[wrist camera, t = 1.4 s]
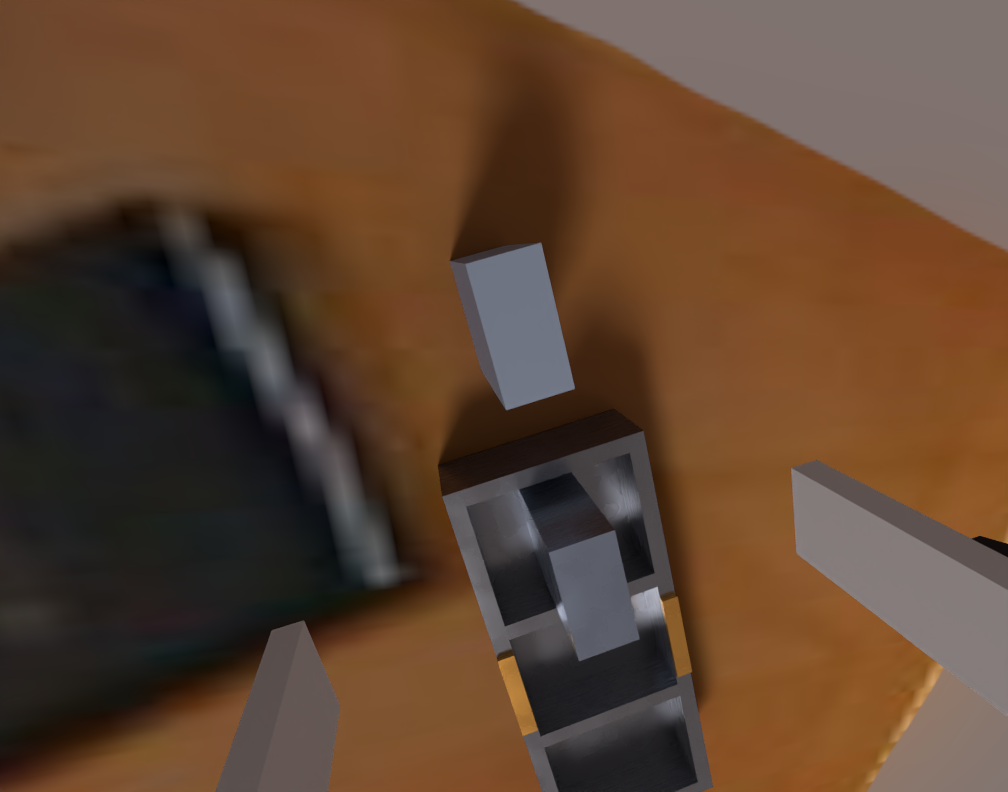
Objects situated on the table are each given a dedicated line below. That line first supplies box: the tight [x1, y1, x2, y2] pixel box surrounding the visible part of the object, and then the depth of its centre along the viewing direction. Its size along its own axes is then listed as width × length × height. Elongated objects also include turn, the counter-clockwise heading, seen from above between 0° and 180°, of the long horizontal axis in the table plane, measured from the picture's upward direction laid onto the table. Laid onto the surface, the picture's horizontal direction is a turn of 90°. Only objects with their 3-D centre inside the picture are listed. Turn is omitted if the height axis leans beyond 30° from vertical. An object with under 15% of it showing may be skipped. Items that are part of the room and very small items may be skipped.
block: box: [450, 243, 575, 410], centre depth 26 cm, size 6×3×8 cm, turn 15°
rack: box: [438, 409, 713, 792], centre depth 32 cm, size 28×11×9 cm, turn 15°
